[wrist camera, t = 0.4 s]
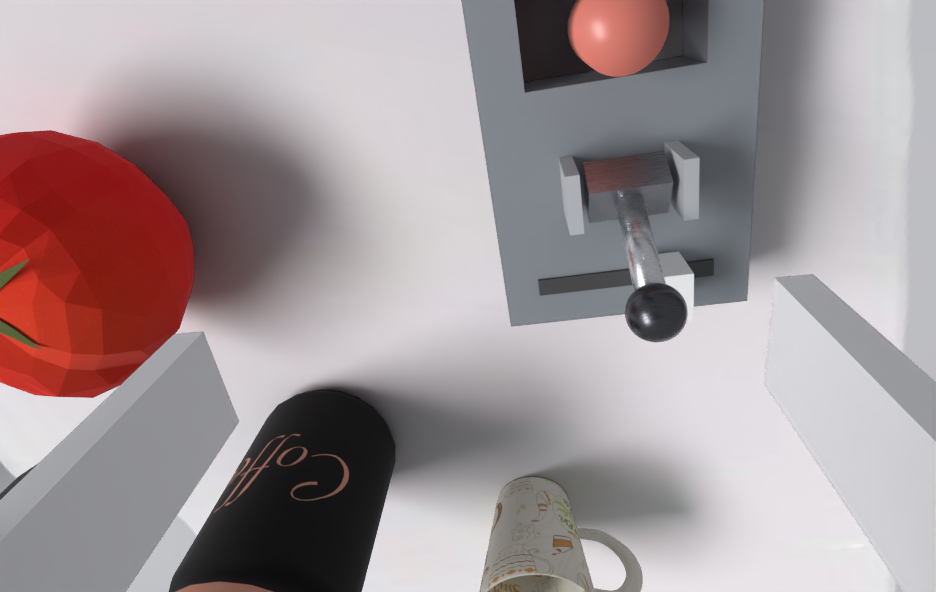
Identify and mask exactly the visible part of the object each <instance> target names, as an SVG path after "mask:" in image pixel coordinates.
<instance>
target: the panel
mask: <svg viewBox="0 0 936 592" xmlns="http://www.w3.org/2000/svg"><path fill="white" fill-rule="evenodd" d="M461 1H462V7H463V14H464V20H465V27H466V33H467V40H468V46H469V53H470V60H471V66H472V73H473V79H474V86H475V92H476V99H477V106H478V112H479V119H480V125H481V132H482V138H483V145H484V151H485V158H486V165H487V171H488V178H489V184H490V191H491V197H492V204H493V210H494V217H495V224H496V230H497V237H498V243H499V250H500V256H501V263H502V270H503V276H504V283H505V289H506V296H507V302H508V309H509V315H510V322H511V326H520V325H530V324H539V323H548V322H557V321H566V320H575V319H584V318H593V317H603V316H612V315H621V314H625V307H626V303H627V301H628V299H629V297H630V295H631V294H632V293H633V292H634V289H633V284H632V280H631V275H630V271H629V266H628V262H627V257H626V253H625V248H624V244H623V239H622V235H621V230H620V226H619V221H618V219H617V220H610V221H602V222H594V223H589V220H588V215H587V209H586V204H585V199H584V193H583V162H589V161H596V160H603V159H610V158H616V157H623V156H630V155H637V154H644V153H651V152H657V151H664V153H665V156H666V159H667V163H668V166H669V169H670V172H671V176H672V179H673V182H674V183H673V189H672V194H671V200H670V206H669V212H668V213H663V214H655V215H648V218H649V221H650V225H651V229H652V233H653V237H654V241H655V244H656V248H657V252H658V254H662V253H670V252H678V251H679V252H680V254H681V255H682V257H683V258H684V260H685V261H686V263H687V264H688V266H689V267H690V269H691V270H692V271H693V273H694V306H703V305H712V304H721V303H730V302H740V301H747V294H748V276H749V259H750V241H751V223H752V205H753V188H754V170H755V152H756V134H757V117H758V99H759V81H760V63H761V46H762V28H763V10H764V0H683V56H679V57H673V58H667V59H661V60H655V61H652V62H651V63H650V64H649V65H647V66H646V67H645V68H643V69H642V70H640V71H638V72H636V73H634V74H631V75H627V76H620V77H614V76H607V75H604V74H601V73H599V72H597V71H596V70H595V71H589V72H583V73H577V74H571V75H565V76H559V77H554V78H548V79H542V80H536V81H530V82H524V81H523V73H522V64H521V56H520V47H519V38H518V30H517V21H516V12H515V4H514V0H461Z"/></svg>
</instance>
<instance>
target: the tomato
mask: <svg viewBox="0 0 936 592" xmlns="http://www.w3.org/2000/svg"><path fill="white" fill-rule="evenodd" d="M193 282H194V247H193V243H192V239H191V235H190V231H189V227H188V223H187V221H186V220H185V218H184V217H183V216H182V215H181V213H180V212H179V211H178V209H177V208H176V207H175V205H174V204H173V203H172V202H171V200H170V199H169V198H168V196H167V195H166V194H164V193H163V192H162V191H161V190H160V189H159V188H158V187H157V186H156V185H155V184H154V183H153V182H152V181H151V180H150V179H149V178H148V177H147V176H146V175H145V174H144V173H143V172H142V171H141V170H140V169H139V168H138V167H137V166H136V165H134V164H133V163H131V162H129V161H128V160H126V159H125V158H123V157H121V156H120V155H118V154H116V153H115V152H113V151H111V150H110V149H108V148H106V147H104V146H103V145H101V144H99V143H97V142H94V141H90V140H86V139H82V138H78V137H74V136H71V135H67V134H63V133H59V132H55V131H51V130H50V131H34V132H18V133H11V134H4V135H0V382H1V383H4V384H6V385H9V386H11V387H14V388H17V389H20V390H23V391H25V392H28V393H31V394H34V395H41V396H55V397H88V398H93V397H95V396H98V395H100V394H102V393H104V392H106V391H109V390H111V389H113V388H115V387H117V386H120V385H121V384H122V383H123V382H124V381H125V380H127V379H128V378H129V377H130V376H131V375H132V374H133V373H134V372H135V371H136V370H137V369H138V368H139V367H140V366H141V365H142V364H143V363H144V362H145V361H146V360H147V359H149V358H150V357H151V356H152V355H153V354H154V353H155V352H156V351H157V350H158V349H159V348H160V347H161V346H162V345H163V344H164V343H165V342H166V341H167V340H168V339H169V338H171V337H172V336H173V335H174V334H175V333H176V332H177V331H178V329H179V328H180V325H181V322H182V319H183V315H184V312H185V309H186V306H187V303H188V300H189V297H190V294H191V291H192V286H193Z"/></svg>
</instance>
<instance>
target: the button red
mask: <svg viewBox="0 0 936 592" xmlns="http://www.w3.org/2000/svg"><path fill="white" fill-rule="evenodd" d="M669 20H670V19H669V10H668V6H667V3H666V0H576V2H575V3H574V5H573V7H572V9H571V12H570V15H569V19H568V38H569V42H570V45H571V47H572V49H573V51H574V52H575V54H576V55H577V56H578V57H579V58H580V59H581V60H582V61H583V62H585V63H586V64H587V65H589V66H590V67H591V68H593V69H594V70H596V71H597V72H599V73H601V74H604V75H607V76H614V77H620V76H627V75H631V74H634V73H636V72H638V71H640V70H642V69H643V68H645V67H646V66H647V65H649V64H650V63H651V62H652V61H653V60H654V59H655V58H656V57H657V55H658V54H659V52H660V51H661V49H662V47H663V45H664V43H665V41H666V38H667V35H668V30H669Z"/></svg>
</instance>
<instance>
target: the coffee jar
mask: <svg viewBox="0 0 936 592" xmlns="http://www.w3.org/2000/svg"><path fill="white" fill-rule="evenodd" d="M394 464H395V442H394V440H393V437H392V435H391V432H390V430H389V427H388V425H387V424H386V423H385V421H384V420H383V418H382V417H381V416H380V415H379V414H378V413H377V411H376V410H375V409H374V408H373V407H372V406H370V405H369V404H367V403H366V402H364V401H363V400H361V399H360V398H358V397H355V396H352V395H349V394H347V393H344V392H341V391H331V390H317V391H311V392H306V393H302V394H297V395H296V396H294V397H292V398H290V399H288V400H286V401H284V402H283V403H281V404H279V405H278V406H277V407H276V408H275V410H274V411H273V412H272V413H271V414H270V416H269V417H268V418H267V420H266V421H265V423H264V425H263V426H262V428H261V430H260V431H259V433H258V435H257V436H256V438H255V440H254V442H253V443H252V445H251V447H250V448H249V450H248V452H247V453H246V455H245V457H244V458H243V460H242V462H241V463H240V465H239V467H238V468H237V470H236V472H235V473H234V475H233V477H232V478H231V480H230V482H229V483H228V485H227V487H226V488H225V490H224V492H223V494H222V495H221V497H220V499H219V500H218V502H217V504H216V505H215V507H214V509H213V510H212V512H211V514H210V515H209V517H208V519H207V520H206V522H205V524H204V525H203V527H202V529H201V530H200V532H199V534H198V535H197V537H196V539H195V540H194V542H193V544H192V546H191V547H190V549H189V551H188V552H187V554H186V556H185V557H184V559H183V561H182V562H181V564H180V566H179V567H178V569H177V571H176V572H175V574H174V576H173V578H172V581H171V585H170V589H169V592H362V588H363V584H364V580H365V576H366V573H367V569H368V565H369V561H370V557H371V553H372V549H373V545H374V542H375V538H376V534H377V530H378V526H379V522H380V518H381V514H382V511H383V507H384V503H385V499H386V495H387V491H388V487H389V483H390V480H391V476H392V472H393V468H394Z"/></svg>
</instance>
